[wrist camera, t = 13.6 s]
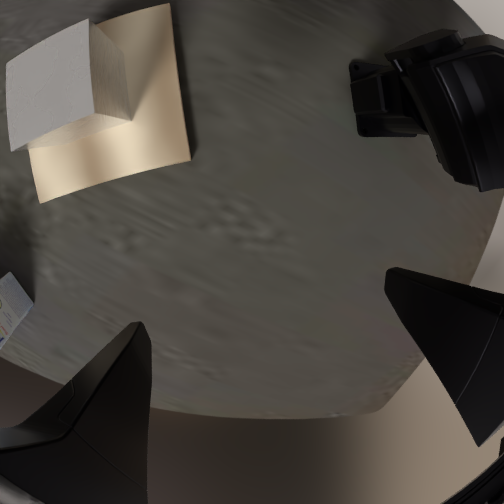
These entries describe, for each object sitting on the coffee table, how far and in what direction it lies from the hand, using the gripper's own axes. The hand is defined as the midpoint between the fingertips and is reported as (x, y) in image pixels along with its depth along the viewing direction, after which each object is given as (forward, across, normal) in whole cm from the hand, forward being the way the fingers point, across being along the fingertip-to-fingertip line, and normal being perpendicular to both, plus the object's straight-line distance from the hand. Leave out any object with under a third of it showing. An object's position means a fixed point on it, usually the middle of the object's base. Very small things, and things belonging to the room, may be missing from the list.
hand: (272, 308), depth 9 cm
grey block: (+12, +9, -11) cm, 19 cm away
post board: (+13, +9, -11) cm, 19 cm away
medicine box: (+13, +26, +4) cm, 29 cm away
